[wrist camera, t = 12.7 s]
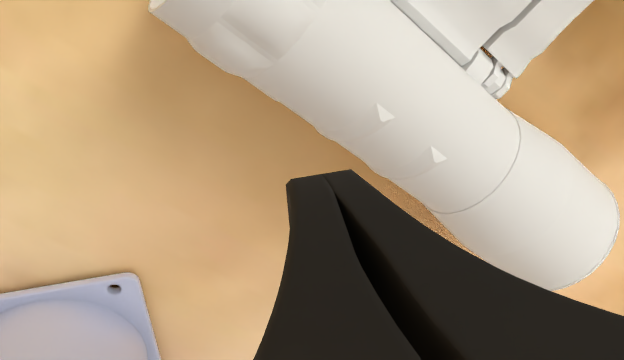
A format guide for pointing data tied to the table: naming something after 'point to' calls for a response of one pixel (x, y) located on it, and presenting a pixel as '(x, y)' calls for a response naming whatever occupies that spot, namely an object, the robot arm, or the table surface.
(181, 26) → the binoculars
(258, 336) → the table surface
